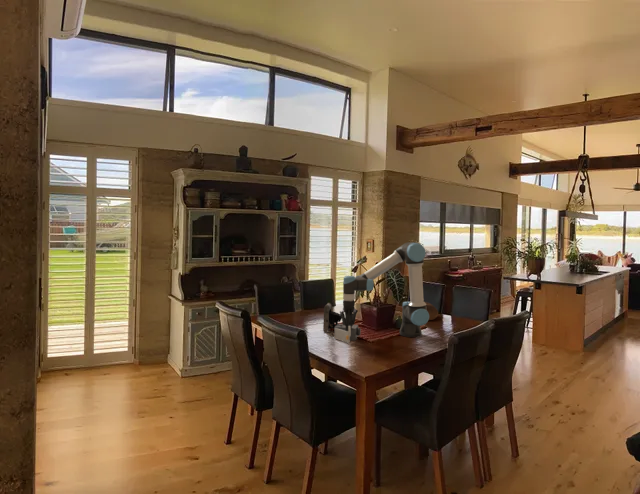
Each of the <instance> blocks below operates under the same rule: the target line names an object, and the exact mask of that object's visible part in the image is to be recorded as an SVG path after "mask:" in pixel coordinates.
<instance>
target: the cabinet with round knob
mask: <svg viewBox="0 0 640 494" xmlns="http://www.w3.org/2000/svg"><path fill="white" fill-rule="evenodd" d="M335 325H336V324H335ZM335 328H338V329H341V330H344V331H346V326H345V325H343V323H338V324H337V325H336V326H335ZM361 333H362V329H361V328H360V327H359V325H358V324H354V325H353V326H352V330H351V336H350V341H357V340H358V338H359V336H361ZM357 337H358V338H357Z"/></svg>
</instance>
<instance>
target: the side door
mask: <svg viewBox="0 0 640 494" xmlns="http://www.w3.org/2000/svg"><path fill="white" fill-rule="evenodd" d="M333 339H336V340H338V341H342V342H343V343H348V344H350V343H351V342H350V341H351V340H350V332H348V331H344V330H341V329H338V328H335V329H334V338H333Z"/></svg>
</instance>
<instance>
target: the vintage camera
mask: <svg viewBox="0 0 640 494" xmlns="http://www.w3.org/2000/svg"><path fill="white" fill-rule="evenodd" d="M341 321H342V317H341V314H340V313H339V312H336V311H332V303H331V302H327V304H325V305H324V306H323V324H322V325H323V326H322V327H323V328H322V331H323V333H328V332H329V331H330V330H335V326H336V325H337V324H339V323H340V322H341Z"/></svg>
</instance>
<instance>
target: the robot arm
mask: <svg viewBox="0 0 640 494" xmlns="http://www.w3.org/2000/svg"><path fill="white" fill-rule="evenodd" d="M426 254H427V251H426V249H425V247H424V246H423V245H422V244H420V243H418V242H414V241H413V242H412V241H408V242H405V243H403V244H402V245H400V246H399V247H397V248H396V249H395V250H393V253H392V254H389V255H388V256H386V257H385V258H384V259H382V260H381V261H380V262H378V263H377V264H374V266H372V267H371V268H369V269H367V270H366V271H365V272H363V273H361V274H359V275H357V276H354V275H345V276H344V277H343V282H342V283H343V284H342V285H343V288H342V290H343V291H342V293H343V295H342V299H343V300H342V306H343V307H342V310H339V314H341V317H342V319H341V321H342V322H341V323H342V324H343V325H345V326H346V331H348V332H350V336H351V330H352V326H353V325H355V323H356V318H357V317H356V316H357V313H358V309H356V308H355V306H356V304H355V299H356V292H357V291H360V292H363V291H364V292H365V291H367V292H369V291H373V290H374V286H375V285H374V284H375V283H374V280H376V279H377V278H378V277H380V276H381V275H383V274H384V273H386V272H387V271H390V270H391V269H392V268H393V267H394V266H396V265H397V264H399V263H403V262H405V265H406V266H407V267H408V268H407V269H408V270H407V271H408V280H409V281H408V283H409V284H408V285H409V287H408V288H409V298H410V299H409V300H410V301H403V302H402V307H401V308H402V315H401V316H402V317H401V319H402V321H401V325H400V329H399V333H400V334H399V335H400V336H402V337H406V338H419V337H422V335H423V331H422V328H421V326H424V325H426V324H427V323H428V321H430V320H429V313H428V311H427V309H426V303H425V302H426V301H424V300H425V299H424V286H423V285H424V283H423V268H422V267H423V265H424V263H425V262H424V261H425V260H424V259H425V257H426Z"/></svg>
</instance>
